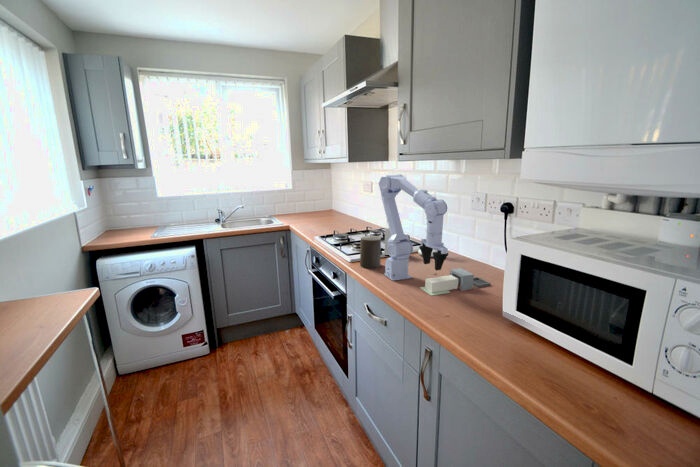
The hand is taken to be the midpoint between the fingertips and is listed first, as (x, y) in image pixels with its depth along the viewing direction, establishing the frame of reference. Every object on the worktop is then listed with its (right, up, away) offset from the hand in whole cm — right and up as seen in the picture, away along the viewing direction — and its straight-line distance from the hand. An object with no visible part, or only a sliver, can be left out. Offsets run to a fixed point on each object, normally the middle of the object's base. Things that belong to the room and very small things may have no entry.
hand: (432, 266), depth 122 cm
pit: (+21, -8, +8) cm, 24 cm away
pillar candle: (-22, -3, +31) cm, 38 cm away
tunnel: (+13, -8, +6) cm, 16 cm away
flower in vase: (+10, +1, +47) cm, 48 cm away
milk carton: (-9, +1, +48) cm, 48 cm away
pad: (+1, -9, +1) cm, 10 cm away
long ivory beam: (+4, -9, +2) cm, 10 cm away
